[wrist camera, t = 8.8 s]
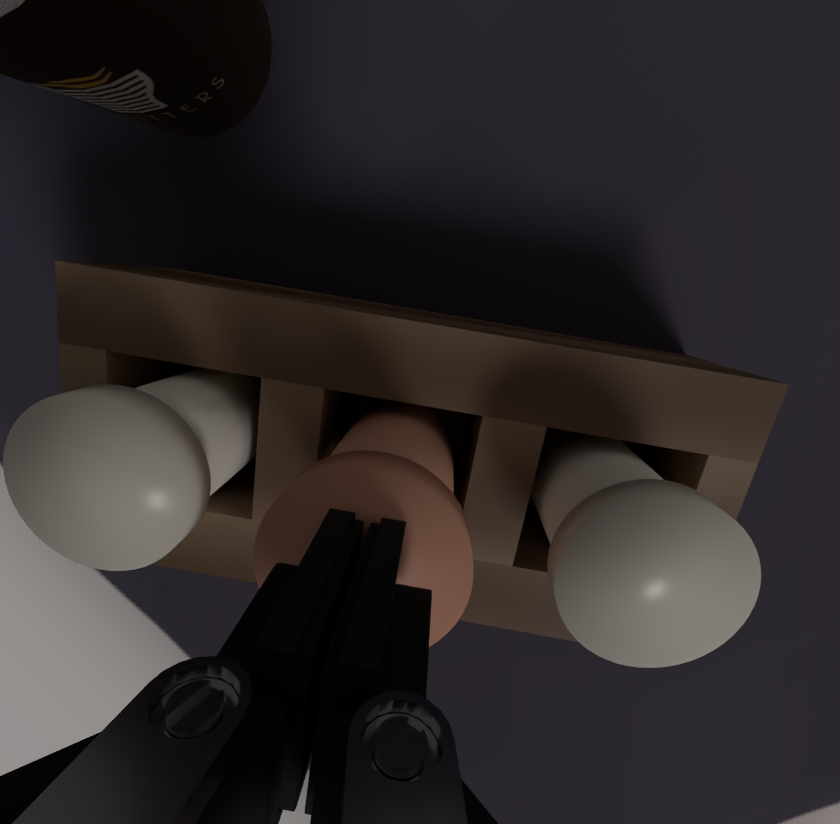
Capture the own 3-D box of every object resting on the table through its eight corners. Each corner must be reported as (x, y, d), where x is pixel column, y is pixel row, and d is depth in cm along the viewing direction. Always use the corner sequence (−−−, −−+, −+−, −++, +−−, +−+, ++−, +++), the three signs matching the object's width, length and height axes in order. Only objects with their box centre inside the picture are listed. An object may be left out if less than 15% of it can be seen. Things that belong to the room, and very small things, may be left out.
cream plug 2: (527, 398, 18) (583, 480, 10) (647, 419, 18) (792, 516, 10) (502, 505, 19) (535, 648, 12) (613, 525, 19) (720, 683, 12)
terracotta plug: (347, 375, 17) (260, 448, 9) (474, 397, 17) (494, 489, 9) (333, 491, 18) (247, 641, 11) (451, 512, 18) (451, 678, 10)
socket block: (172, 268, 19) (54, 260, 14) (686, 354, 19) (789, 384, 13) (169, 481, 22) (70, 549, 16) (619, 561, 22) (681, 660, 16)
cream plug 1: (184, 339, 18) (-6, 377, 11) (300, 359, 18) (193, 412, 11) (182, 449, 20) (11, 552, 12) (291, 468, 20) (188, 585, 12)
